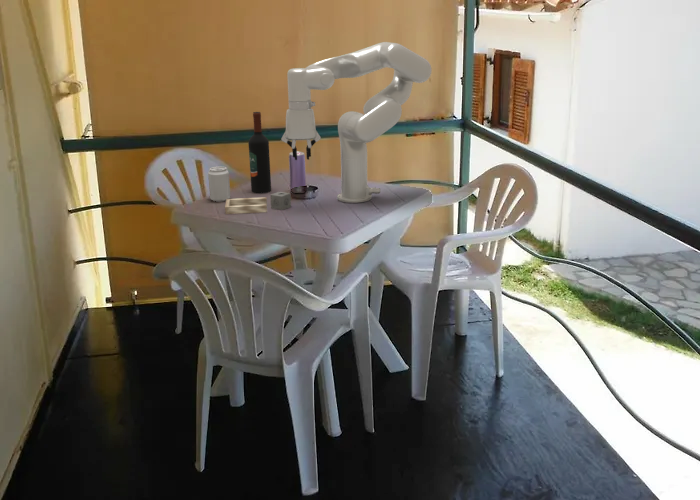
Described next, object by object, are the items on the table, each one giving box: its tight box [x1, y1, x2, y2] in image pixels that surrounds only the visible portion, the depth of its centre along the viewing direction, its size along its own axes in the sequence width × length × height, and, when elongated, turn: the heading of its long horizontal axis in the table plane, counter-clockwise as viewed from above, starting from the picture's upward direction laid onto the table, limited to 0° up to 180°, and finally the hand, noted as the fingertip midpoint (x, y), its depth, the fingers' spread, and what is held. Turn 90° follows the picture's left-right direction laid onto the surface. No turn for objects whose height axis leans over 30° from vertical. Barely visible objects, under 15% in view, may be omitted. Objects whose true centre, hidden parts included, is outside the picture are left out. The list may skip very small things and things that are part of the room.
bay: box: [224, 196, 268, 215], centre depth 256 cm, size 14×10×2 cm
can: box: [207, 165, 231, 203], centre depth 266 cm, size 8×8×12 cm
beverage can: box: [288, 151, 307, 192], centre depth 274 cm, size 6×6×15 cm
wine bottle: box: [247, 111, 272, 194], centre depth 274 cm, size 8×8×30 cm
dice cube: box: [269, 191, 292, 211], centre depth 257 cm, size 5×5×5 cm
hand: (301, 158), depth 252 cm, fingers open, 3 cm apart
